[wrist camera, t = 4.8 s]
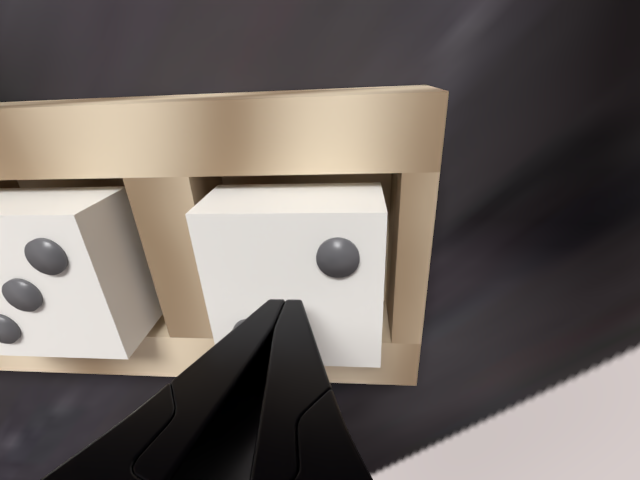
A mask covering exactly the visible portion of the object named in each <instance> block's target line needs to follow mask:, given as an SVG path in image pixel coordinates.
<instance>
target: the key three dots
mask: <svg viewBox="0 0 640 480" xmlns="http://www.w3.org/2000/svg"><path fill="white" fill-rule="evenodd" d="M162 314H163V313H162V310H161V306H160V303H159V299H158V296H157V293H156V289H155V286H154V283H153V279H152V276H151V273H150V269H149V266H148V262H147V259H146V256H145V252H144V249H143V246H142V242H141V239H140V236H139V232H138V229H137V226H136V222H135V219H134V215H133V212H132V209H131V205H130V202H129V199H128V195H127V192H126V189H125V186H117V187H53V188H0V355H6V356H36V357H67V358H98V359H129V358H130V357H131V355H132V354H133V353H134V351H135V350H136V349H137V347H138V346H139V345H140V343H141V342H142V341H143V339H144V338H145V337H146V336H147V334H148V333H149V332H150V330H151V329H152V328H153V326H154V325H155V324H156V322H157V321H158V320H159V318H160V317H161V316H162Z"/></svg>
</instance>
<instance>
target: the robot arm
mask: <svg viewBox="0 0 640 480" xmlns="http://www.w3.org/2000/svg"><path fill="white" fill-rule="evenodd" d="M41 480H373V479H372V477H371V475H370V473H369V471H368V469H367V468H366V466H365V464H364V462H363V460H362V458H361V456H360V454H359V452H358V450H357V448H356V446H355V444H354V442H353V440H352V438H351V436H350V434H349V431H348V429H347V427H346V425H345V423H344V420H343V418H342V415H341V412H340V410H339V407H338V405H337V402H336V399H335V396H334V393H333V391H332V387H331V385H330V382H329V379H328V376H327V373H326V370H325V367H324V364H323V361H322V358H321V355H320V352H319V349H318V346H317V343H316V340H315V337H314V334H313V331H312V328H311V325H310V322H309V320H308V317H307V314H306V311H305V308H304V305H303V302H302V300H296V299H288V300H286V301H285V300H284V299H270V300H268V301H267V302H265V303H264V304H263V305H262V306H261V307H259V308H258V309H257V310H256V311H255V312H253V313H252V314H251V315H250V316H249V317H247V318H246V319H245V320H244V321H243V322H241V323H240V324H239V325H238V326H237V327H236V328H234V329H233V330H232V331H231V332H230V333H228V334H227V335H226V336H225V337H224V338H222V339H221V340H220V341H219V342H218V343H216V344H215V345H214V346H213V347H212V348H210V349H209V350H208V351H207V352H206V353H205V354H203V355H202V356H201V357H200V358H199V359H197V360H196V361H195V362H194V363H193V364H191V365H190V366H189V367H188V368H187V369H185V370H184V371H183V372H182V373H181V374H179V375H178V376H177V377H176V378H175V379H174V380H172V381H171V384H167V385H166V386H165V387H164V388H163V389H161V390H160V391H159V392H158V393H157V394H155V395H154V396H153V397H152V398H150V399H149V400H148V401H147V402H145V403H144V404H143V405H142V406H141V407H139V408H138V409H137V410H136V411H134V412H133V413H132V414H130V415H129V416H128V417H126V418H125V419H124V420H122V421H121V422H120V423H118V424H117V425H116V426H114V427H113V428H112V429H110V430H109V431H108V432H106V433H105V434H103V435H102V436H101V437H99V438H98V439H96V440H95V441H94V442H92V443H91V444H89V445H88V446H87V447H85V448H84V449H82V450H81V451H80V452H78V453H77V454H75V455H74V456H73V457H71V458H70V459H69V460H67V461H66V462H64V463H63V464H62V465H60V466H59V467H57V468H56V469H55V470H53V471H52V472H50V473H49V474H48V475H46V476H45V477H43V478H42V479H41Z"/></svg>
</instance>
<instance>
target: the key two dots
mask: <svg viewBox="0 0 640 480" xmlns="http://www.w3.org/2000/svg"><path fill="white" fill-rule="evenodd" d="M387 214H388V212H387V208H386V204H385V199H384V195H383V191H382V187H381V182H372V183H308V184H245V185H217V186H216V187H215V188H214V189H213V190H212V191H211V192H209V193H208V194H207V195H206V196H205V197H204V198H203V199H202V200H200V201H199V202H198V203H197V204H196V205H195V206H194V207H193V208H192V209H190V210H189V211H188V212H187V213H186V214H185V216H186V220H187V224H188V229H189V233H190V238H191V242H192V246H193V251H194V255H195V260H196V264H197V268H198V273H199V277H200V282H201V286H202V290H203V295H204V299H205V304H206V308H207V312H208V317H209V321H210V326H211V330H212V334H213V339H214V343H215V344H216V343H218V342H219V341H220V340H221V339H222V338H224V337H225V336H226V335H227V334H228V333H230V332H231V331H232V330H233V329H234V328H236V327H237V326H238V325H239V324H240V323H241V322H243V321H244V320H245V319H246V318H247V317H249V316H250V315H251V314H252V313H253V312H255V311H256V310H257V309H258V308H259V307H261V306H262V305H263V304H264V303H265V302H267V301H268V300H270V299H284V300H285V301H286V300H288V299H296V300H302V302H303V305H304V308H305V311H306V314H307V317H308V320H309V322H310V325H311V328H312V331H313V334H314V337H315V340H316V343H317V346H318V349H319V352H320V355H321V358H322V361H323V364H324V366H343V367H373V368H380V367H381V345H382V323H383V302H384V280H385V258H386V236H387Z"/></svg>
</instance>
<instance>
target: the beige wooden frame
mask: <svg viewBox="0 0 640 480" xmlns="http://www.w3.org/2000/svg"><path fill="white" fill-rule="evenodd" d="M448 95H449V91H446V90H442V89H439V88H435V87H432V86H428V85H410V86H386V87H361V88H336V89H312V90H287V91H262V92H238V93H213V94H189V95H164V96H139V97H115V98H90V99H65V100H41V101H16V102H0V188H53V187H117V186H125V189H126V192H127V195H128V199H129V202H130V205H131V209H132V212H133V215H134V219H135V222H136V226H137V229H138V232H139V236H140V239H141V242H142V246H143V249H144V252H145V256H146V259H147V262H148V266H149V269H150V273H151V276H152V279H153V283H154V286H155V289H156V293H157V296H158V299H159V303H160V306H161V310H162V313H163V314H162V316H161V317H160V318H159V320H158V321H157V322H156V324H155V325H154V326H153V328H152V329H151V330H150V332H149V333H148V334H147V336H146V337H145V338H144V339H143V341H142V342H141V343H140V345H139V346H138V347H137V349H136V350H135V351H134V353H133V354H132V355H131V357H130V358H129V359H98V358H67V357H36V356H6V355H0V370H4V371H31V372H58V373H85V374H112V375H139V376H167V377H177V376H178V375H179V374H181V373H182V372H183V371H184V370H185V369H187V368H188V367H189V366H190V365H191V364H193V363H194V362H195V361H196V360H197V359H199V358H200V357H201V356H202V355H203V354H205V353H206V352H207V351H208V350H209V349H210V348H212V347H213V346H214V345H215V343H214V339H213V334H212V330H211V326H210V321H209V317H208V312H207V308H206V304H205V299H204V295H203V290H202V286H201V282H200V277H199V273H198V268H197V264H196V260H195V255H194V251H193V246H192V242H191V238H190V233H189V229H188V224H187V220H186V216H185V214H186V213H187V212H188V211H189V210H190V209H192V208H193V207H194V206H195V205H196V204H197V203H198V202H199V201H200V200H202V199H203V198H204V197H205V196H206V195H207V194H208V193H209V192H211V191H212V190H213V189H214V188H215V187H216V186H217V185H245V184H308V183H372V182H381V187H382V191H383V195H384V199H385V204H386V208H387V212H388V214H387V236H386V258H385V280H384V302H383V323H382V345H381V367H380V368H373V367H343V366H324V367H325V370H326V373H327V376H328V379H329V382H330V383H356V384H383V385H410V386H416V385H417V376H418V367H419V358H420V349H421V340H422V331H423V322H424V313H425V304H426V295H427V286H428V276H429V267H430V258H431V249H432V240H433V231H434V222H435V213H436V204H437V195H438V186H439V177H440V168H441V159H442V150H443V141H444V132H445V123H446V114H447V104H448Z"/></svg>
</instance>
